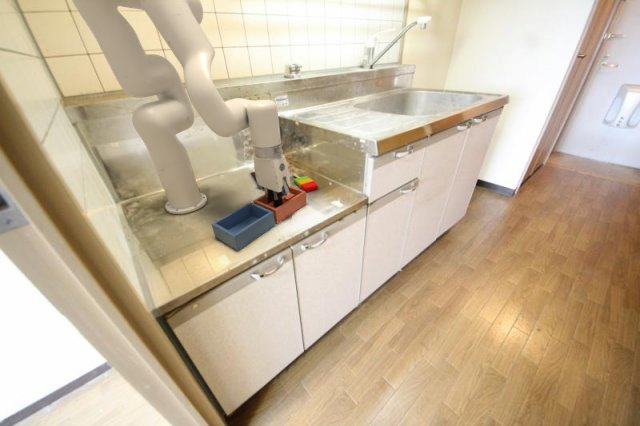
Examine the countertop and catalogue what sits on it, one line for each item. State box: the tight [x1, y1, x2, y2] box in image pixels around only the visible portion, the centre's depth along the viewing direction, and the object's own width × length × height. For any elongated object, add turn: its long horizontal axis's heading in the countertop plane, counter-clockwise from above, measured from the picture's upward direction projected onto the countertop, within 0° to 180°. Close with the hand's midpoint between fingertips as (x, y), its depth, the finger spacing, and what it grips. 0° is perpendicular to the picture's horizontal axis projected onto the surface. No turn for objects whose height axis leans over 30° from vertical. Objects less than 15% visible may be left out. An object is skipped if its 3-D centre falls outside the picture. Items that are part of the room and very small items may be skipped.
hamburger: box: [250, 171, 258, 185], centre depth 101 cm, size 12×12×6 cm
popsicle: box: [292, 173, 319, 193], centre depth 96 cm, size 6×15×2 cm, turn 31°
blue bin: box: [210, 201, 276, 252], centre depth 71 cm, size 10×14×5 cm
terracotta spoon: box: [268, 193, 295, 208], centre depth 80 cm, size 10×3×2 cm, turn 144°
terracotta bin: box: [252, 185, 307, 225], centre depth 80 cm, size 10×14×5 cm
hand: (276, 207), depth 79 cm, fingers closed on terracotta spoon, 1 cm apart
